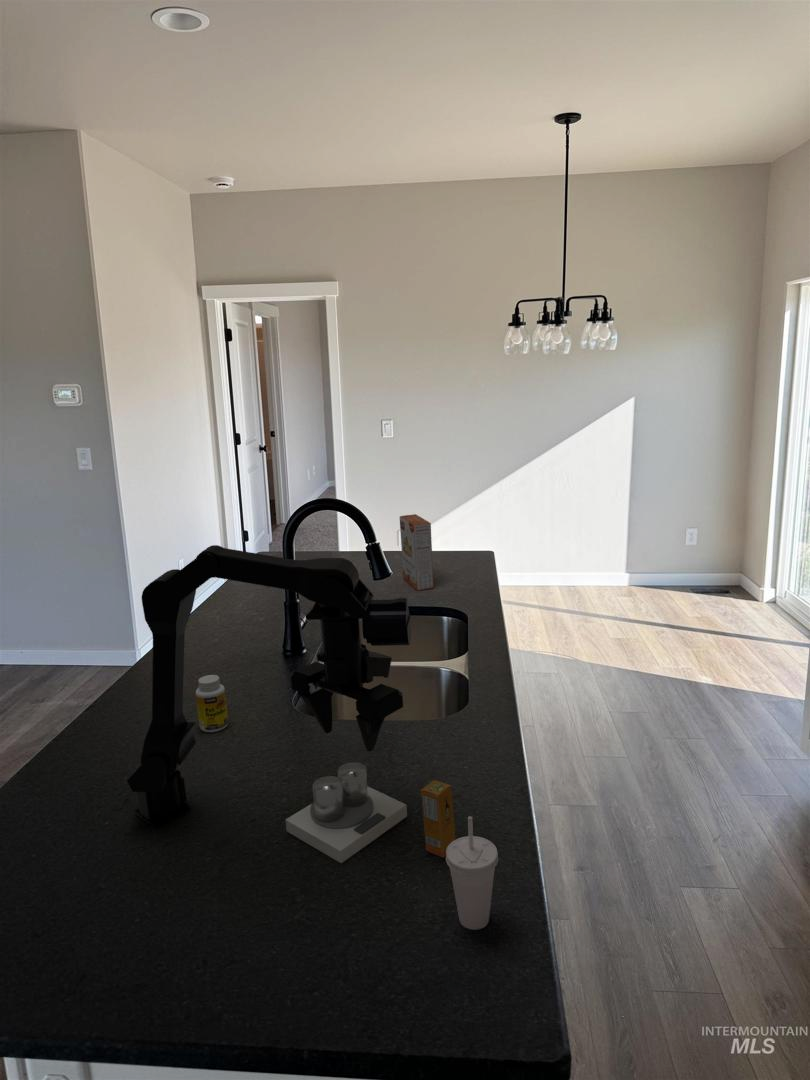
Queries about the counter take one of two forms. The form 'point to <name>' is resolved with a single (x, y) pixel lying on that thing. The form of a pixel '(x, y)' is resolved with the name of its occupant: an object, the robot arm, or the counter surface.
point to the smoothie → (472, 877)
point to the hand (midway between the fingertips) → (349, 741)
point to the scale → (348, 825)
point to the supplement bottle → (211, 704)
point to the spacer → (328, 799)
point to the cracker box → (416, 551)
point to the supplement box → (438, 817)
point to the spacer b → (353, 784)
